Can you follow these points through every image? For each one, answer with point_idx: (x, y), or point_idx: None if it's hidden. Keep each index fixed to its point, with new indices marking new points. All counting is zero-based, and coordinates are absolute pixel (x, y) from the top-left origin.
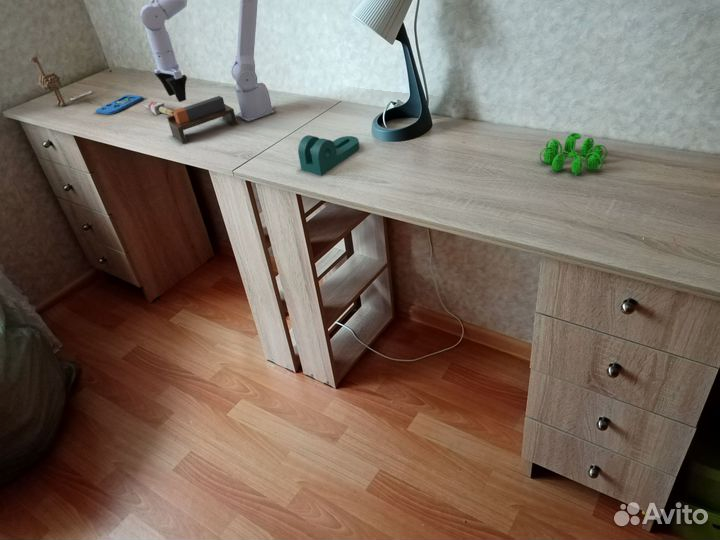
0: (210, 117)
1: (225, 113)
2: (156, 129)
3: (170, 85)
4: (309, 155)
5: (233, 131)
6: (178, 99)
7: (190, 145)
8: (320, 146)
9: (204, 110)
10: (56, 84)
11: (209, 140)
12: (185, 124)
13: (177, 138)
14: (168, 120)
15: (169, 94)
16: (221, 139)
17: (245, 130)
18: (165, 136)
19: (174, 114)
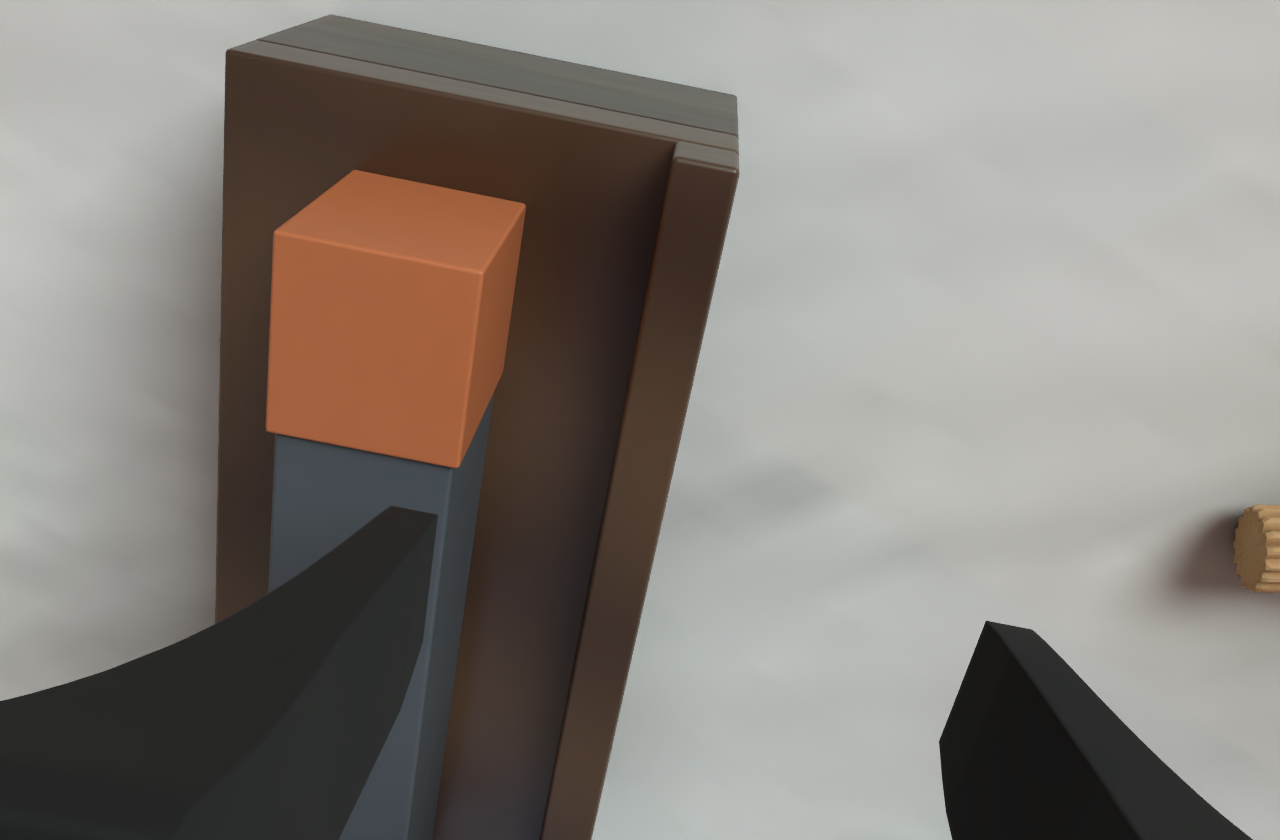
0: (220, 591)
1: None
2: (1277, 111)
3: (211, 713)
4: None
5: (136, 594)
6: (363, 530)
7: (186, 45)
8: None
9: None
10: None
11: (125, 293)
12: (260, 220)
13: (531, 58)
14: (695, 146)
15: (991, 644)
16: (27, 389)
17: (48, 667)
18: (865, 26)
19: (460, 240)
